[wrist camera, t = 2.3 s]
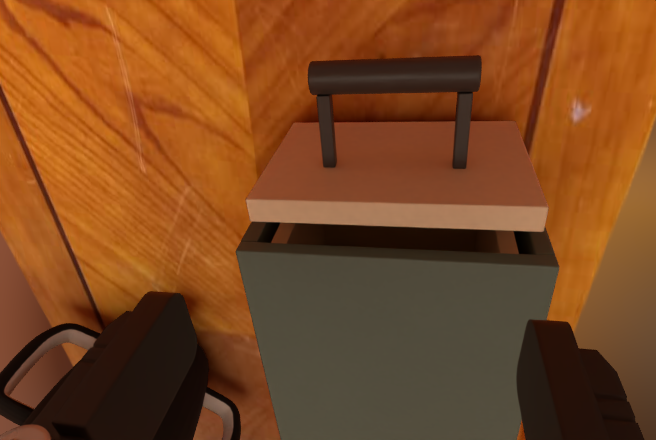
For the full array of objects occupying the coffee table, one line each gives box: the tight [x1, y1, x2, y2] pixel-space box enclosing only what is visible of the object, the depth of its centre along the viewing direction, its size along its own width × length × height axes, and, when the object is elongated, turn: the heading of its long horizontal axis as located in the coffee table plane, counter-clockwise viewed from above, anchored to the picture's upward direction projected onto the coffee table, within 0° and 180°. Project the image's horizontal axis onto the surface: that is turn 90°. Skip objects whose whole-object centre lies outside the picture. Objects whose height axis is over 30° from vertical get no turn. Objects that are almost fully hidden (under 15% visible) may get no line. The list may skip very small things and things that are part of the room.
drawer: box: [246, 55, 549, 254], centre depth 25 cm, size 19×12×9 cm, turn 5°
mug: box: [0, 323, 241, 440], centre depth 39 cm, size 16×16×12 cm
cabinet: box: [236, 221, 559, 440], centre depth 28 cm, size 16×14×11 cm
